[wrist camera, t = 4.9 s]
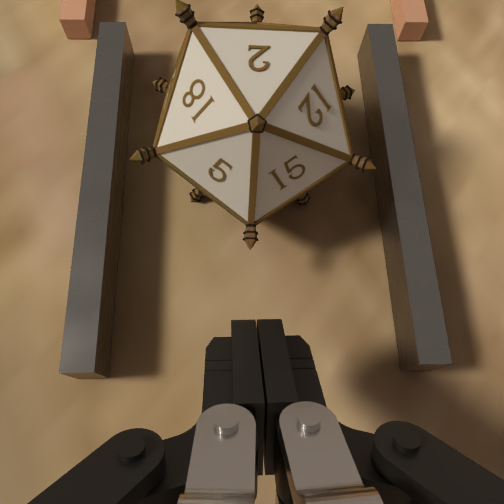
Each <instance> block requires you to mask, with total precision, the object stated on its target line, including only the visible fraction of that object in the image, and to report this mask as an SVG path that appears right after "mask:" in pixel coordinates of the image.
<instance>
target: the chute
mask: <svg viewBox="0 0 504 504" xmlns="http://www.w3.org/2000/svg"><path fill="white" fill-rule="evenodd" d="M358 62H359V70H360V77H361V84H362V92H363V99H364V106H365V113H366V121H367V128H368V135H369V143H370V150H371V157H372V163H373V165H374V166H375V168H376V169H373V172H374V179H375V186H376V194H377V201H378V208H379V216H380V223H381V230H382V238H383V245H384V252H385V260H386V267H387V274H388V281H389V289H390V296H391V303H392V311H393V318H394V325H395V333H396V340H397V347H398V354H399V362H400V369H401V371H414V370H432V369H436V368H439V367H443V366H446V365H449V364H452V359H451V354H450V348H449V342H448V337H447V331H446V325H445V320H444V314H443V308H442V302H441V297H440V291H439V285H438V280H437V274H436V268H435V263H434V257H433V251H432V246H431V240H430V234H429V229H428V223H427V217H426V212H425V206H424V200H423V195H422V189H421V183H420V177H419V172H418V166H417V160H416V155H415V149H414V143H413V138H412V132H411V126H410V121H409V115H408V109H407V104H406V98H405V92H404V87H403V81H402V75H401V70H400V64H399V58H398V53H397V47H396V41H395V35H394V30H393V24H368V25H367V28H366V31H365V34H364V37H363V40H362V43H361V46H360V49H359V52H358ZM133 63H134V52H133V48H132V44H131V40H130V37H129V33H128V29H127V26H126V22H100V23H99V32H98V41H97V49H96V58H95V67H94V75H93V84H92V93H91V101H90V110H89V118H88V127H87V136H86V144H85V153H84V162H83V170H82V179H81V188H80V196H79V205H78V213H77V222H76V231H75V239H74V248H73V257H72V265H71V274H70V283H69V291H68V300H67V308H66V317H65V326H64V334H63V343H62V352H61V360H60V369H59V373H60V374H63V375H67V376H70V377H73V378H76V379H89V378H109V368H110V355H111V342H112V330H113V317H114V304H115V292H116V279H117V266H118V253H119V241H120V228H121V215H122V203H123V190H124V177H125V165H126V152H127V139H128V127H129V114H130V101H131V89H132V76H133Z"/></svg>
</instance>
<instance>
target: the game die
mask: <svg viewBox="0 0 504 504" xmlns="http://www.w3.org/2000/svg"><path fill="white" fill-rule="evenodd" d="M190 6H191V5H190V4H186V3H184V2H181V1H179V0H176V14H175V15H176V16H178V17H179V18H180V22H181V23H184V24H185V25H186V26H187V28H188V30H187V33H186V36H185V39H184V42H183V44H182V47H181V50H180V53H179V56H178V59H177V61H176V64H175V67H174V70H173V73H172V76H171V78H170V81H169V83H168V82H167V81H166V80H165V79H164V80H163V79H162V78H161V77H160V78H159V79H158V80H155V81H153V84H154V86H155V88H156V91H160V92H161V93H163V92H166V95H165V99H164V103H163V107H162V111H161V115H160V119H159V123H158V127H157V131H156V135H155V139H154V143H153V147H151V148H146V147H145V146H144V147H143V148H142V149H138V148H136V152H135V153H134V154H133V155H132V157H131V158H130V159H129V160H133V161H136V162H140V163H141V164H143V163H144V162H146V161H148V162H150V159H152V158H153V157H157V158H158V159H159V160H161V161H162V162H163V163H165V164H166V165H167V166H169V167H170V168H171V169H172V170H174V171H175V172H176V173H178V174H179V175H180V176H181V177H183V178H184V179H185V180H187V181H188V182H189V183H191V184H192V185H193V186H194V187H196V188H195V189H193V190H192V191H193V192H191V193H189V194H190V196H191V202H193V201H200V199H201V198H202V197H203V193H204V194H205V195H206V196H208V197H209V198H210V199H212V200H213V201H214V202H216V203H217V204H218V205H220V206H221V207H222V208H224V209H225V210H226V211H228V212H229V213H230V214H232V215H233V216H234V217H236V218H237V219H238V220H240V221H241V222H242V223H244V224H245V225H246V230H245V232H243V234H245V235H244V238H243V240H244V241H245V242H246V244H247V246H248V247H249V249H250V250H251V248H252V247H253V246H254V244H255V243H256V241H258V239H257V235H258V232H256V225H258V224H259V223H261V222H262V221H264V220H265V219H267V218H268V217H270V216H271V215H273V214H274V213H276V212H277V211H279V210H281V209H282V208H284V207H285V206H287V205H288V204H290V203H291V202H293V201H294V200H296V199H297V201H299V205H307V206H308V203H309V200H310V197H309V196H308V194H307V193H306V192H308V191H310V190H311V189H313V188H314V187H316V186H317V185H319V184H320V183H322V182H323V181H325V180H326V179H328V178H329V177H331V176H332V175H334V174H336V173H337V172H339V171H340V170H342V169H343V168H345V167H346V166H348V165H349V164H352V165H353V166H355V167H356V169H357V170H358V169H360V170H362V172H364V171H367V170H372V169H376V168H375V166H374V165H373V163H372V162H371V160H370V157H367V158H366V157H363V156H364V155H361V156H356V155H355V154H354V152H353V147H352V143H351V138H350V133H349V129H348V124H347V119H346V115H345V110H344V106H343V101H342V100H346V99H351V96H352V94H353V93H354V91H355V90H354V89H352V88H350V87H349V86H348V85H347V86H346V87H345V88H344V87H342V88H341V89H340V87H339V82H338V78H337V73H336V68H335V64H334V59H333V54H332V50H331V45H330V40H329V36H328V34H329V33H330V32H331V31H332V30H336V29H337V26H338V24H341V23H342V21H341V18H342V12H343V7H341V8H338V9H335V10H332V11H330V10H329V11H328V15H327V16H326V17H324V18H323V19H324V22H323V24H322V26H321V27H310V26H298V25H286V24H274V23H262V20H263V18H264V17H263V14H264V11H263V10H261V8H260V7H259V6H258V4H257V5H256V6H255V7H254V8H253V10H250V13H251V16H250V18H251V21H252V22H197V21H196V20H195V17H194V11H192V10H191V8H190Z"/></svg>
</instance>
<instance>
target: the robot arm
mask: <svg viewBox="0 0 504 504" xmlns="http://www.w3.org/2000/svg"><path fill="white" fill-rule="evenodd" d="M263 457H264V467H265V475H275V482H276V500H275V502H276V504H504V480H502V479H501V478H499V477H497V476H496V475H494V474H493V473H491V472H490V471H488V470H486V469H485V468H483V467H482V466H480V465H479V464H477V463H475V462H474V461H472V460H471V459H469V458H467V457H466V456H464V455H463V454H461V453H460V452H458V451H456V450H455V449H453V448H452V447H450V446H449V445H447V444H445V443H444V442H442V441H441V440H439V439H438V438H436V437H434V436H433V435H431V434H430V433H428V432H426V431H425V430H423V429H422V428H420V427H418V426H416V425H414V424H411V423H407V422H402V421H391V422H387V423H385V424H383V425H381V426H380V427H379V428H378V429H377V430H376V432H375V434H372V433H368V432H363V431H359V430H355V429H352V428H349V427H347V426H345V425H343V424H341V423H340V422H338V420H337V418H336V416H335V415H334V414H333V412H332V411H330V410H329V409H328V408H327V407H326V403H325V400H324V396H323V393H322V389H321V385H320V382H319V378H318V375H317V371H316V369H315V364H314V361H313V357H312V353H311V350H310V346H309V345H308V344H307V343H306V342H305V341H304V340H303V339H302V338H301V337H300V336H299V335H296V336H285V334H284V329H283V324H282V320H281V319H259V320H257V329H256V321H255V320H231V337H214V338H213V339H212V340H211V342H210V343H209V345H208V346H207V347H206V356H205V373H204V389H203V406H202V414H201V415H200V417H199V418H198V421H197V423H196V424H195V425H194V426H193V427H192V428H191V429H189V430H188V431H186V432H185V433H183V434H180V435H178V436H175V437H171V438H168V439H165V440H162V439H161V437H160V436H159V435H158V434H157V433H155V432H153V431H151V430H148V429H143V428H135V429H129V430H125V431H122V432H120V433H118V434H116V435H114V436H113V437H112V438H110V439H109V440H108V441H106V442H105V443H104V444H103V445H101V446H100V447H99V448H98V449H96V450H95V451H94V452H92V453H91V454H90V455H89V456H87V457H86V458H85V459H84V460H82V461H81V462H80V463H78V464H77V465H76V466H75V467H73V468H72V469H71V470H70V471H68V472H67V473H66V474H64V475H63V476H62V477H61V478H59V479H58V480H57V481H56V482H54V483H53V484H52V485H51V486H49V487H48V488H47V489H45V490H44V491H43V492H42V493H40V494H39V495H38V496H37V497H35V498H34V499H33V500H31V501H30V502H29V503H28V504H254V501H255V499H256V496H257V475H263Z"/></svg>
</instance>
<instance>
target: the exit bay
mask: <svg viewBox="0 0 504 504" xmlns="http://www.w3.org/2000/svg"><path fill="white" fill-rule="evenodd" d="M390 1H391V7H392V12H393V18H394V24H395V29H396V35H397V40H398V41H420V39H421V37H422V35H423V33H424V31H425V29H426V27H427V25H428V23H429V22H428V17H427V12H426V7H425V3H424V0H390ZM95 4H96V0H62V6H61V12H60V19H59V20H60V22H61V24H62V27H63V29H64V31H65V34H66V36H67V38H68V39H91V37H92V29H93V21H94V13H95Z"/></svg>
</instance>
